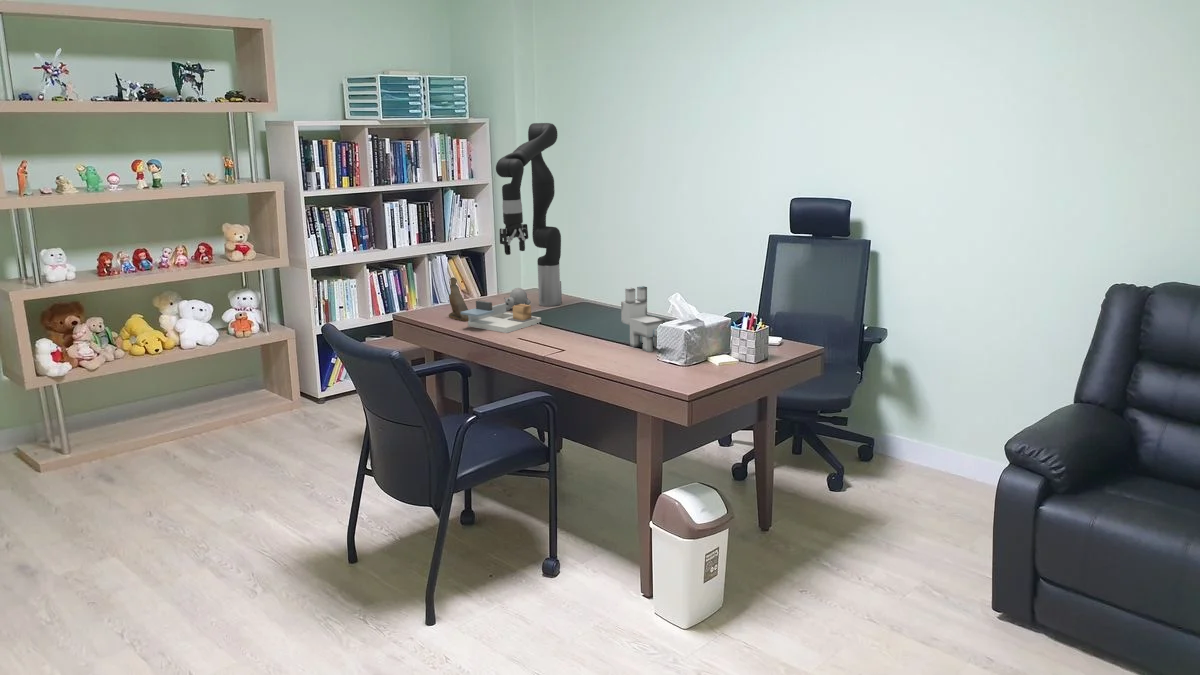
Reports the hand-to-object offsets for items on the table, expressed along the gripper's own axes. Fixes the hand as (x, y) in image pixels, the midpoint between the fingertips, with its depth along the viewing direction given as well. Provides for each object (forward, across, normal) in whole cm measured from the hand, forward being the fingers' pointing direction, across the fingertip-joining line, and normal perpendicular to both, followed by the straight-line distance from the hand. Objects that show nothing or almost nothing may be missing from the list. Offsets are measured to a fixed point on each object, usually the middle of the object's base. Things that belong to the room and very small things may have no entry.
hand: (515, 252), depth 342 cm
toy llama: (+26, +11, +66) cm, 72 cm away
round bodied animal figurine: (+27, -13, -13) cm, 33 cm away
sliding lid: (+20, +21, -3) cm, 29 cm away
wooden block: (+24, +7, +8) cm, 26 cm away
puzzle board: (+26, +11, +2) cm, 28 cm away
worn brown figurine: (+26, +12, -20) cm, 35 cm away
